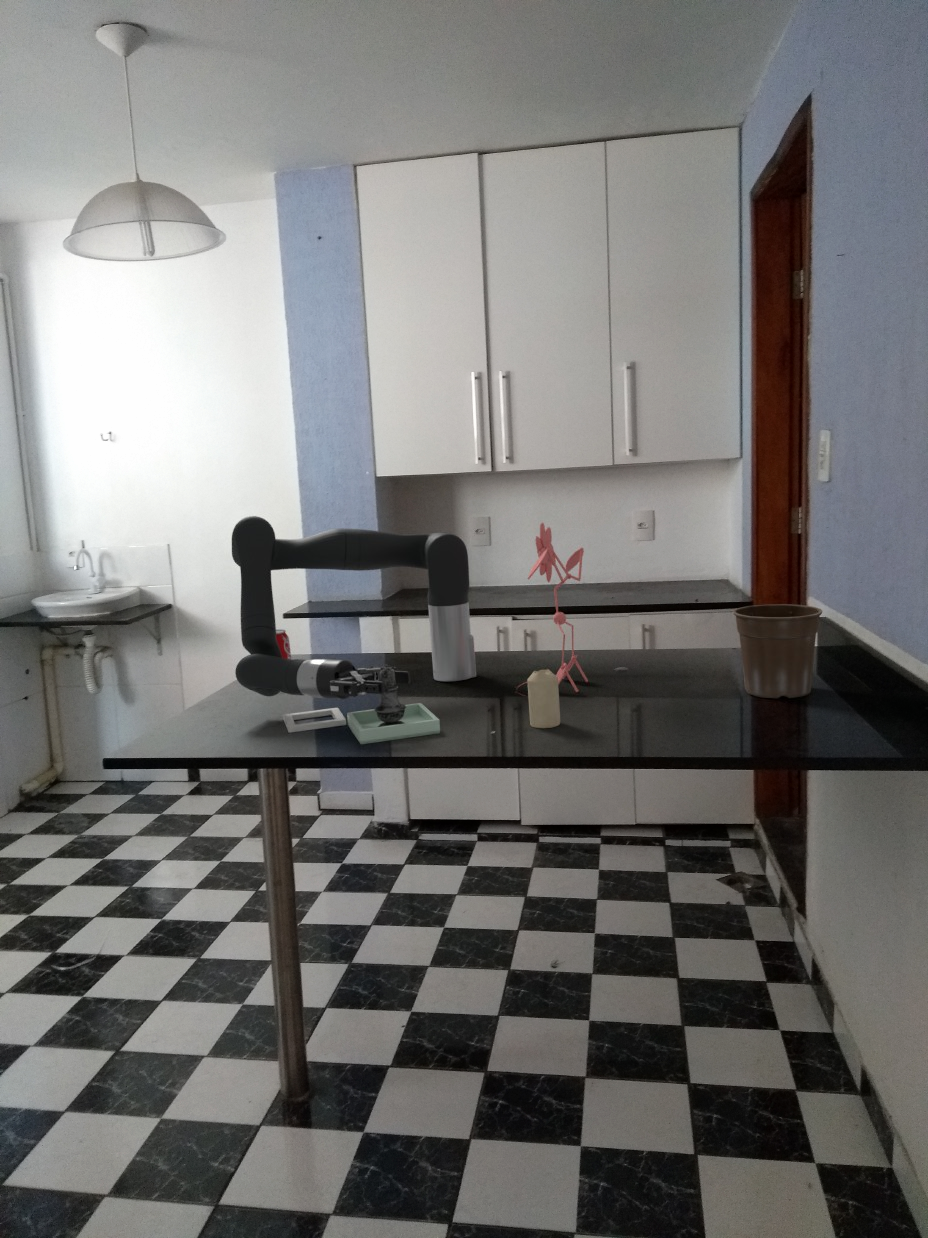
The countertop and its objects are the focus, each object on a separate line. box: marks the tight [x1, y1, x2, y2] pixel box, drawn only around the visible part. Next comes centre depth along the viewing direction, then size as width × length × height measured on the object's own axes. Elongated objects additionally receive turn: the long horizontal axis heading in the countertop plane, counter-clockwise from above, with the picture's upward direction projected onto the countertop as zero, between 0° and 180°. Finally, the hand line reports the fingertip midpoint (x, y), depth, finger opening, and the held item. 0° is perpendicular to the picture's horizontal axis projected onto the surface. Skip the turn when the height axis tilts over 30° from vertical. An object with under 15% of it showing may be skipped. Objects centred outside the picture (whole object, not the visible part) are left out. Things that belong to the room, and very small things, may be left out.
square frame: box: [282, 707, 347, 733], centre depth 188 cm, size 11×11×1 cm
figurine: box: [514, 522, 589, 698], centre depth 202 cm, size 15×26×35 cm, turn 160°
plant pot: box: [732, 603, 823, 699], centre depth 185 cm, size 16×16×16 cm
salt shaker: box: [374, 663, 406, 727], centre depth 178 cm, size 6×6×12 cm
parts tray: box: [346, 702, 441, 745], centre depth 179 cm, size 15×15×2 cm
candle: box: [526, 669, 561, 729], centre depth 174 cm, size 6×6×10 cm
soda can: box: [276, 629, 292, 660], centre depth 231 cm, size 7×7×12 cm
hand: (397, 682), depth 177 cm, fingers open, 8 cm apart
